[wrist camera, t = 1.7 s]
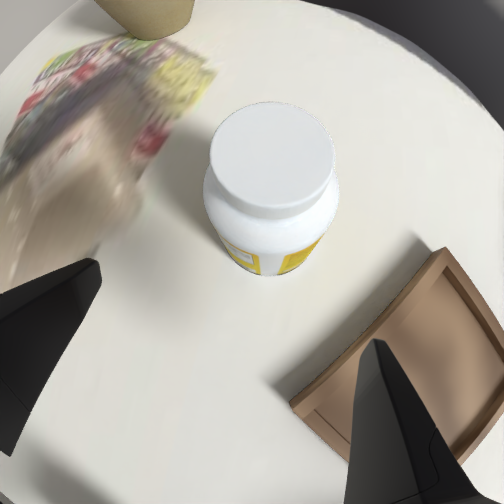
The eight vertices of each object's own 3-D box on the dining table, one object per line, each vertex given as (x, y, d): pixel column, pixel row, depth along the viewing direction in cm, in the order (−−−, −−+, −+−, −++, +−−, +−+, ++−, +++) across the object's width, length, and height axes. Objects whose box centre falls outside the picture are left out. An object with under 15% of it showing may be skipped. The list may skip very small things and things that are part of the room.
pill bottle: (324, 209, 22) (374, 115, 11) (295, 291, 21) (334, 262, 10) (243, 180, 23) (227, 71, 11) (209, 258, 22) (155, 197, 10)
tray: (402, 502, 16) (410, 513, 14) (289, 401, 19) (291, 409, 17) (514, 372, 18) (526, 374, 16) (432, 252, 21) (445, 246, 19)
